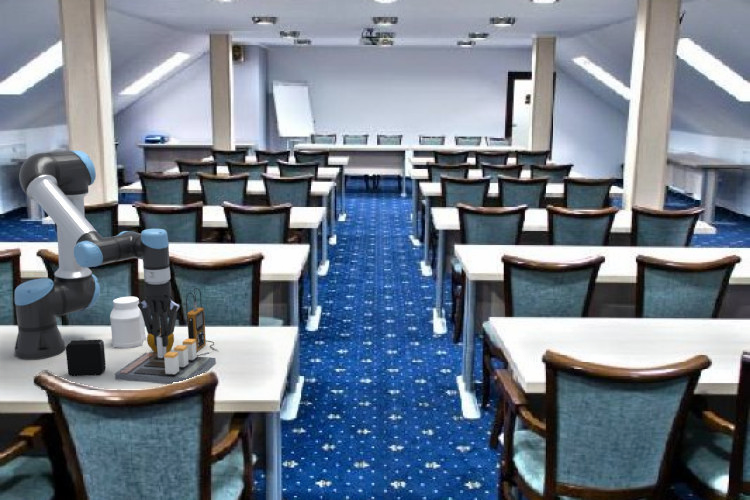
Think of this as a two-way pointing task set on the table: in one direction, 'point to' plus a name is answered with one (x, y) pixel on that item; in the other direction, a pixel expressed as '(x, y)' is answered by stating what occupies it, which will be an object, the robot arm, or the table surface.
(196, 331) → the multimeter
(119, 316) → the jar
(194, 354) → the breaker far
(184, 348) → the block
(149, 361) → the panel
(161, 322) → the robot arm
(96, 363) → the electronic device
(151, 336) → the apple
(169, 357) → the breaker near
